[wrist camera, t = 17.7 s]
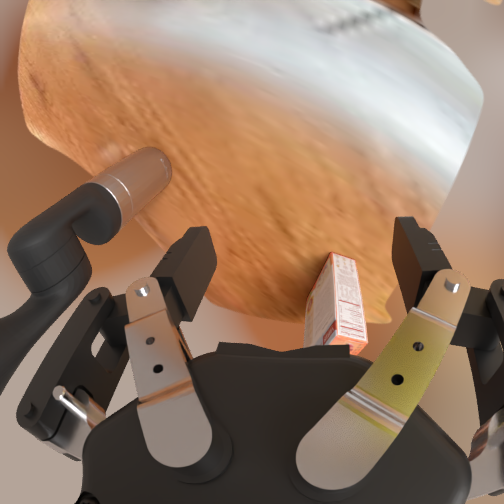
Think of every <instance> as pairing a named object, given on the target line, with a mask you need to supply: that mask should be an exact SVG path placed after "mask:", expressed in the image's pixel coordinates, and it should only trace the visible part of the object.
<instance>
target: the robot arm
mask: <svg viewBox="0 0 504 504" xmlns="http://www.w3.org/2000/svg"><path fill="white" fill-rule="evenodd" d="M171 175H172V169H171V165H170V162H169V160H168V158H167V157H166V156H165V154H164V153H163V152H161V151H160V150H158V149H156V148H152V147H145V148H142V149H140V150H138V151H136V152H134V153H133V154H131V155H129V156H127V157H125V158H124V159H122V160H120V161H119V162H117V163H115V164H114V165H112V166H110V167H109V168H107V169H106V170H104V171H102V172H101V173H99V174H98V175H96V176H95V177H93V178H92V179H90V180H89V181H87V182H86V183H84V184H83V185H81V186H80V187H79V188H77V189H76V190H74V191H73V192H71V193H70V194H68V195H67V196H65V197H64V198H63V199H61V200H60V201H59V202H57V203H56V204H54V205H53V206H51V207H50V208H48V209H47V210H45V211H44V212H42V213H41V214H40V215H38V216H37V217H35V218H34V219H32V220H31V221H29V222H28V223H27V224H26V225H24V226H23V227H22V228H20V230H18V231H17V232H16V233H15V234H14V236H13V237H12V238H11V240H10V242H9V244H8V247H7V252H8V255H9V257H10V259H11V261H12V263H13V264H14V266H15V268H16V270H17V271H18V273H19V275H20V276H21V278H22V279H23V281H24V283H25V284H26V285H27V287H28V289H29V290H30V292H31V293H32V294H31V296H30V298H29V299H28V300H27V302H26V303H24V304H23V305H22V306H21V307H20V308H19V309H17V310H16V311H15V312H13V313H12V314H10V315H8V316H6V317H4V318H0V395H1V394H2V392H3V390H4V388H5V386H6V385H7V383H8V381H9V380H10V378H11V377H12V375H13V374H14V372H15V371H16V369H17V368H18V366H19V365H20V363H21V362H22V360H23V359H24V357H25V356H26V354H27V353H28V352H29V351H30V349H31V348H32V347H33V346H34V344H35V343H36V342H37V341H38V340H39V339H40V337H41V336H42V335H43V334H44V333H45V332H46V331H47V329H48V328H49V327H50V326H51V325H52V324H53V323H54V322H55V321H56V320H57V319H58V317H59V316H60V315H61V314H62V313H63V312H64V311H65V310H66V309H67V308H68V307H69V306H70V305H71V303H72V302H73V301H74V300H75V299H76V298H77V297H78V295H80V293H81V292H82V291H83V290H84V288H85V287H86V285H87V284H88V281H89V280H90V277H91V275H92V267H91V264H90V261H89V259H88V257H87V255H86V253H85V251H84V249H83V247H82V245H81V243H80V241H79V240H78V238H77V236H78V237H79V238H81V239H82V240H84V241H86V242H87V243H90V244H94V245H102V244H105V243H107V242H109V241H110V240H111V239H112V238H113V237H114V236H115V235H116V234H117V233H118V232H119V231H120V230H121V229H122V228H123V227H124V226H125V225H126V224H127V222H129V221H130V220H131V219H132V218H133V217H134V216H135V215H136V214H137V213H138V212H139V211H140V210H141V209H142V208H143V207H144V206H145V205H146V204H147V203H148V202H150V201H151V200H152V199H153V198H154V197H155V196H156V195H157V194H158V193H159V192H161V191H162V190H163V189H164V188H165V187H166V186H167V185H168V184H169V182H170V180H171ZM76 235H77V236H76ZM166 253H167V254H165V255H164V257H163V259H162V260H161V261H160V262H159V264H158V265H157V267H156V268H155V270H154V271H153V273H152V274H151V275H150V277H144V278H141V279H139V280H137V281H135V282H133V283H132V284H131V285H130V286H129V287H128V289H127V290H126V294H121V295H117V296H112V295H111V293H110V291H109V290H108V289H107V288H105V287H100V288H97V289H94V290H92V291H91V292H89V293H88V294H87V295H86V296H85V297H84V299H83V300H82V301H81V303H80V304H79V306H78V307H77V309H76V310H75V312H74V313H73V314H72V316H71V317H70V319H69V320H68V322H67V323H66V325H65V326H64V328H63V329H62V331H61V332H60V334H59V336H58V337H57V339H56V340H55V342H54V343H53V345H52V347H51V348H50V350H49V351H48V353H47V355H46V357H45V358H44V360H43V361H42V363H41V365H40V367H39V368H38V370H37V372H36V374H35V375H34V377H33V379H32V381H31V383H30V384H29V386H28V388H27V390H26V392H25V394H24V396H23V398H22V399H21V401H20V403H19V405H18V408H17V412H16V418H17V422H18V424H19V425H20V426H21V427H22V428H24V429H25V430H27V431H28V432H29V433H31V434H32V435H34V436H35V437H36V438H37V439H38V440H39V441H41V442H42V443H44V444H46V445H47V446H49V447H50V448H52V449H53V450H55V451H57V452H59V453H62V454H63V455H65V456H67V457H69V458H70V459H72V460H74V461H81V460H82V464H83V480H82V490H81V493H80V496H79V498H78V500H77V501H76V503H75V504H465V502H466V501H467V500H470V499H473V498H477V497H480V496H483V495H486V494H488V495H491V496H497V495H500V494H502V493H504V279H498V280H495V281H493V283H492V284H491V286H490V289H489V290H485V289H480V288H475V287H471V285H470V281H469V280H468V278H467V277H466V276H465V275H464V274H462V273H460V272H459V271H456V270H453V269H452V267H451V265H450V263H449V262H448V260H447V258H446V256H445V254H444V253H443V251H442V250H441V247H440V245H439V244H438V242H437V240H436V239H435V237H434V235H433V234H432V233H431V232H429V231H428V230H427V229H425V228H420V227H419V226H418V224H417V222H416V220H415V219H414V217H396V218H395V223H394V234H393V244H392V262H393V266H394V269H395V272H396V275H397V279H398V282H399V285H400V289H401V292H402V296H403V300H404V303H405V307H406V310H407V316H406V318H405V319H404V321H403V322H402V324H401V325H400V327H399V328H398V330H397V331H396V332H395V334H394V336H393V337H392V338H391V340H390V341H389V343H388V344H387V345H386V347H385V348H384V349H383V351H382V352H381V354H380V355H379V356H378V358H377V359H376V360H375V362H374V363H373V362H371V361H370V360H367V359H365V358H362V357H359V356H356V355H352V354H350V345H349V344H346V345H315V346H310V347H305V348H300V349H295V350H290V351H286V352H279V351H275V350H271V349H266V348H263V347H259V346H255V345H252V344H243V343H226V342H219V344H218V347H217V350H216V351H215V352H210V353H206V354H203V355H201V356H198V357H196V358H194V359H193V357H192V354H191V352H190V350H189V347H188V345H187V343H186V340H185V338H184V335H183V333H182V330H181V328H180V326H179V324H180V322H181V321H188V322H192V321H193V318H194V316H195V314H196V311H197V309H198V307H199V305H200V303H201V300H202V298H203V296H204V294H205V292H206V289H207V287H208V285H209V283H210V281H211V278H212V276H213V274H214V272H215V270H216V266H217V257H216V253H215V249H214V246H213V243H212V239H211V236H210V232H209V229H208V228H207V227H206V226H200V227H190V228H189V229H188V230H187V231H186V233H185V234H184V236H183V237H182V239H179V240H178V241H176V242H175V243H174V244H173V245H171V247H170V248H169V250H168V251H167V252H166ZM98 332H100V333H101V334H102V336H103V337H104V339H105V341H104V342H103V344H102V346H101V348H100V350H99V352H98V353H97V355H96V357H94V356H93V355H92V352H91V345H92V343H93V341H94V339H95V337H96V335H97V334H98ZM500 342H501V344H500ZM449 344H451V345H456V346H462V347H466V349H467V353H468V358H469V361H470V366H471V371H472V376H473V381H474V386H475V392H476V398H477V405H478V411H479V419H480V428H479V429H478V430H477V431H476V433H475V434H474V436H473V439H472V442H471V451H470V455H469V457H468V458H467V456H466V454H465V453H464V451H463V450H462V449H461V448H460V447H459V446H458V445H457V444H456V443H455V442H454V441H453V440H452V439H451V438H450V437H449V436H448V435H447V434H446V433H445V432H444V431H443V430H442V429H441V428H440V427H439V426H438V425H437V424H436V422H435V421H434V420H432V418H431V417H430V416H429V415H428V414H427V413H426V412H425V411H424V410H423V409H422V408H421V407H420V406H419V405H418V402H419V401H420V399H421V397H422V396H423V394H424V392H425V391H426V389H427V387H428V385H429V383H430V382H431V380H432V378H433V376H434V374H435V372H436V370H437V369H438V367H439V364H440V362H441V361H442V358H443V357H444V354H445V352H446V350H447V348H448V346H449ZM501 345H502V347H501ZM502 348H503V351H502ZM129 358H130V361H131V366H132V371H133V376H134V380H135V385H136V389H137V393H138V397H137V398H136V399H134V400H133V401H131V402H130V403H128V404H127V405H126V406H124V407H123V408H121V409H120V410H118V411H117V412H115V413H114V414H112V415H111V416H109V417H108V418H106V410H107V408H108V406H109V403H110V401H111V398H112V396H113V394H114V392H115V389H116V387H117V385H118V383H119V380H120V378H121V376H122V374H123V371H124V369H125V367H126V365H127V362H128V360H129Z"/></svg>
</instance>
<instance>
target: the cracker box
mask: <svg viewBox="0 0 504 504" xmlns="http://www.w3.org/2000/svg"><path fill="white" fill-rule="evenodd" d="M367 343H368V338H367V329H366V322H365V314H364V308H363V301H362V295H361V289H360V283H359V277H358V271H357V266H356V261H355V260H353V259H350V258H347V257H345V256H341V255H338V254H335V253H332V252H331V253H330V255H329V257H328V259H327V261H326V263H325V265H324V267H323V269H322V271H321V273H320V275H319V277H318V279H317V281H316V282H315V284H314V286H313V288H312V290H311V292H310V294H309V296H308V298H307V300H306V317H305V334H304V347H303V348H305V347H310V346H315V345H346V344H349V345H350V354H352V355H356V356H357V355H358V353H359V352H360V351H361V350H362V349H363V348H364V347H365V346H366V345H367Z"/></svg>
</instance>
